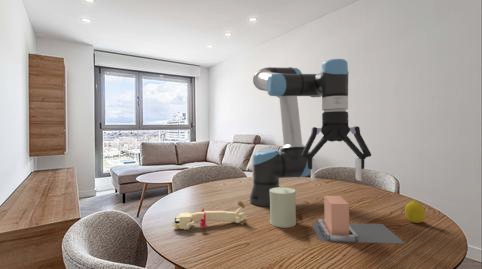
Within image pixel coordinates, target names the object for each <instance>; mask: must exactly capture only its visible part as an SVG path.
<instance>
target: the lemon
mask: <svg viewBox="0 0 482 269" xmlns="http://www.w3.org/2000/svg"><path fill="white" fill-rule="evenodd" d="M404 214H405V217H406V219H407V220H408V221H409V222H411V223H413V224H420V223H422V222H423V221H424V220H425V217H426V212H425V207H424V206H423V205H422V204H421V203H420V202H418V201H417V200H413V201H410V202H407V204H406V205H405V208H404Z"/></svg>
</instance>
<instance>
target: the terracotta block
mask: <svg viewBox="0 0 482 269" xmlns="http://www.w3.org/2000/svg"><path fill="white" fill-rule="evenodd" d="M323 200H324V201H323V205H324V208H323V209H324V210H323V211H324V212H323V213H324V214H323V215H324V219H325V227H326V228H327V230H328V232H329V233H330V234H339V235H349V223H350V205H349V204H350V203H348V201H347V200H345V198H343V197H342V196H341V195H324V197H323Z"/></svg>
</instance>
